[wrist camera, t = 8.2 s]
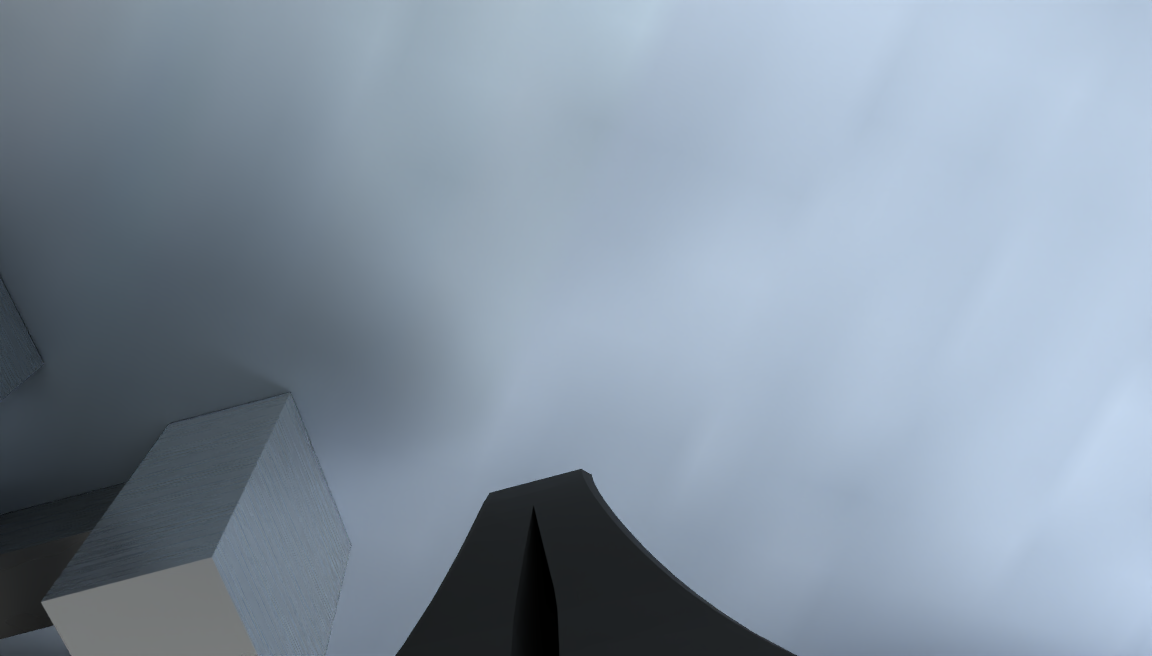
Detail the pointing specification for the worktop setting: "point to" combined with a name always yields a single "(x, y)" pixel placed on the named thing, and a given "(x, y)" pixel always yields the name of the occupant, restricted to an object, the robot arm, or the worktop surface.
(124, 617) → the plug
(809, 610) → the worktop surface
